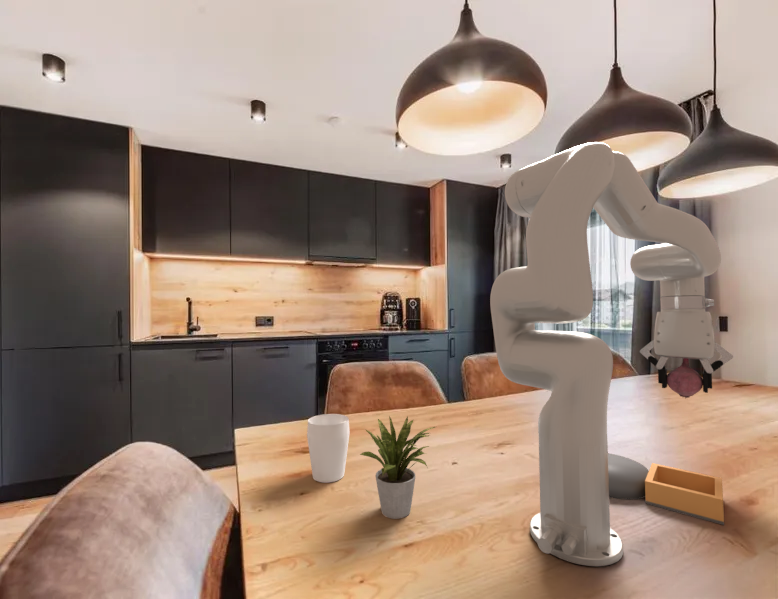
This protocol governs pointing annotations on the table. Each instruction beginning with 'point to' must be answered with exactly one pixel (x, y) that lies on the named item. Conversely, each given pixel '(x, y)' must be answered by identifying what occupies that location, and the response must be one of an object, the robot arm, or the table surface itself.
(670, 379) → the vegetable
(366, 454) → the house plant
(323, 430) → the cup
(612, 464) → the dome with orange frame
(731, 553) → the table surface
